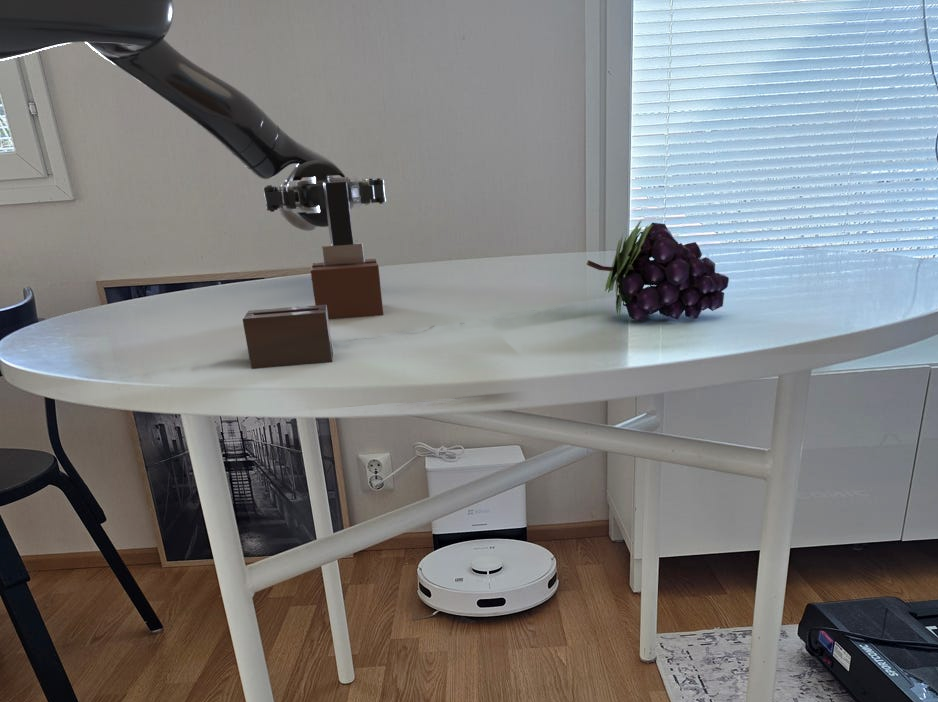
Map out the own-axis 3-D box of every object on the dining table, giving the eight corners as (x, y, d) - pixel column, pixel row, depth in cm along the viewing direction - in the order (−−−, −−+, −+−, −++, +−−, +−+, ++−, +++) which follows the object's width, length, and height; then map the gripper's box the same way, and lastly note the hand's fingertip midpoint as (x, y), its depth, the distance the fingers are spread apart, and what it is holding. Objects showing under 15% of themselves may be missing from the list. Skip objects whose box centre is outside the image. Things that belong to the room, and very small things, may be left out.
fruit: (711, 353, 89) (572, 320, 90) (707, 319, 97) (580, 289, 98) (747, 252, 83) (597, 217, 83) (740, 224, 91) (603, 192, 91)
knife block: (333, 370, 77) (325, 312, 75) (252, 377, 76) (242, 318, 74) (333, 359, 82) (326, 304, 79) (257, 366, 81) (247, 310, 78)
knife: (371, 321, 96) (355, 180, 89) (331, 325, 95) (313, 183, 89) (370, 317, 99) (355, 180, 92) (332, 320, 98) (314, 183, 91)
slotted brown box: (389, 331, 94) (382, 265, 91) (316, 337, 93) (306, 270, 90) (385, 320, 101) (379, 258, 98) (318, 326, 101) (309, 263, 97)
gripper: (257, 164, 108) (260, 161, 94) (369, 157, 111) (387, 153, 97) (268, 229, 112) (272, 236, 98) (375, 221, 114) (394, 227, 100)
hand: (329, 195), depth 97 cm, fingers open, 8 cm apart
